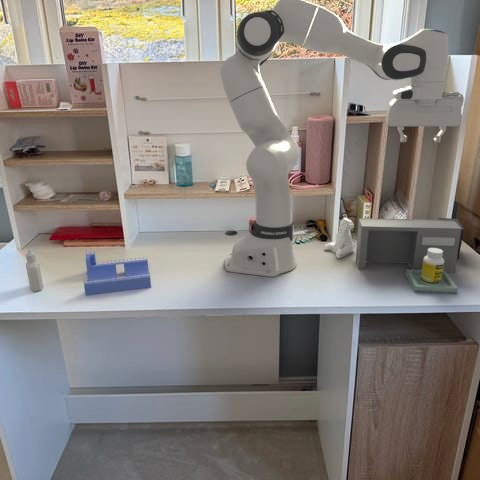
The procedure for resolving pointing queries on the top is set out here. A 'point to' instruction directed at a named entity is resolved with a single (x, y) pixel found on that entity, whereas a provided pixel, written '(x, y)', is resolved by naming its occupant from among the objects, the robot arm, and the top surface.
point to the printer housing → (406, 241)
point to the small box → (460, 235)
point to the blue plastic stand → (115, 276)
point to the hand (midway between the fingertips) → (420, 141)
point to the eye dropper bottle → (33, 272)
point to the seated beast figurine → (342, 240)
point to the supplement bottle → (432, 267)
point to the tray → (443, 287)
